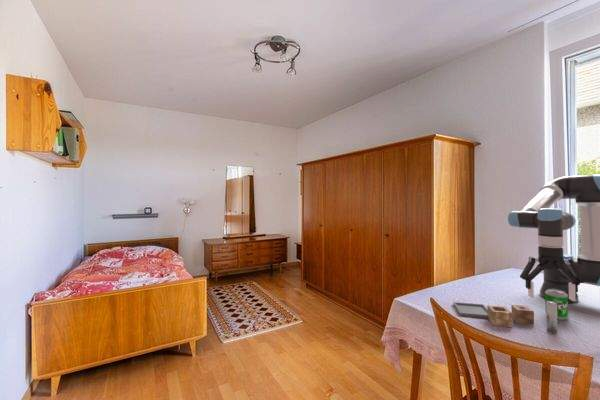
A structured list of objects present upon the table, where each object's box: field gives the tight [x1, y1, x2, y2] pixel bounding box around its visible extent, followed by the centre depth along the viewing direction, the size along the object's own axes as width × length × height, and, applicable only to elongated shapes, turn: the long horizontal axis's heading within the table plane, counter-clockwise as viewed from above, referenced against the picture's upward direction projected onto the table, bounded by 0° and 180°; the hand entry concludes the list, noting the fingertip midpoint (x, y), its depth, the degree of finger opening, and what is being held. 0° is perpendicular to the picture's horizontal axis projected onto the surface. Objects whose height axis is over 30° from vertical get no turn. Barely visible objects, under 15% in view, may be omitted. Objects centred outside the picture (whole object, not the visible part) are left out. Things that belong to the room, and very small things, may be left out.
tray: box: [453, 301, 488, 319], centre depth 133 cm, size 14×14×2 cm
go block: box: [486, 304, 513, 328], centre depth 121 cm, size 7×7×6 cm
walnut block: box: [510, 304, 535, 325], centre depth 122 cm, size 6×6×6 cm
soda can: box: [544, 289, 569, 321], centre depth 124 cm, size 8×8×12 cm
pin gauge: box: [546, 301, 558, 334], centre depth 112 cm, size 3×3×12 cm
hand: (551, 298), depth 112 cm, fingers open, 13 cm apart
